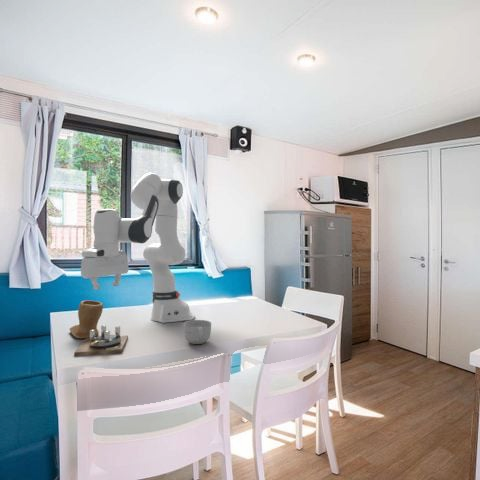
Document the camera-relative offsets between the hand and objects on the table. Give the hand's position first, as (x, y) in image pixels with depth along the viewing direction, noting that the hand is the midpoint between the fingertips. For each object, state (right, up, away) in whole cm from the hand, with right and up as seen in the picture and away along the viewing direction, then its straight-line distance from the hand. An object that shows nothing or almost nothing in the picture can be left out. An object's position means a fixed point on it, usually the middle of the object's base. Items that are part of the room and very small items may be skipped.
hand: (106, 287), depth 125 cm
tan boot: (-15, -23, +17) cm, 33 cm away
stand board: (-2, -23, +2) cm, 23 cm away
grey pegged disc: (-1, -22, +1) cm, 22 cm away
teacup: (+34, -23, +6) cm, 42 cm away
